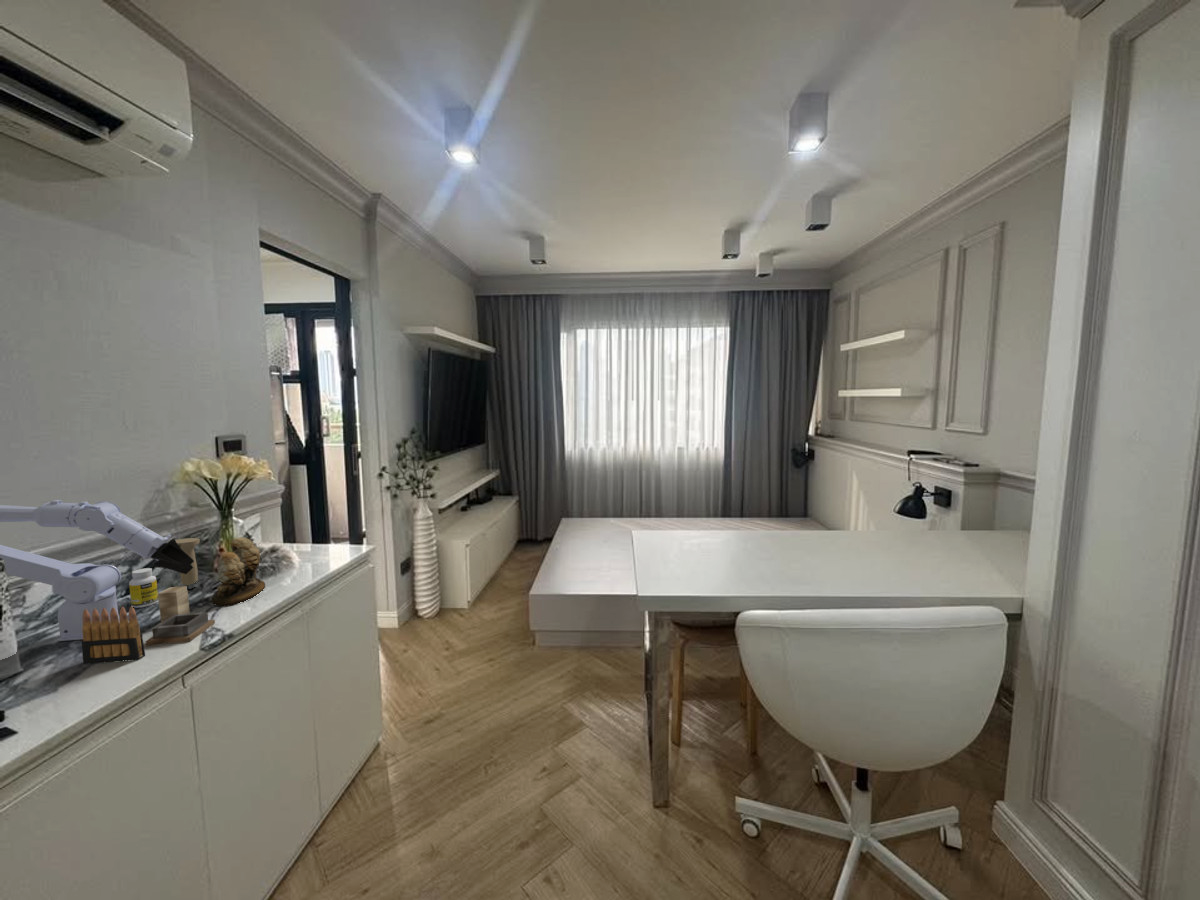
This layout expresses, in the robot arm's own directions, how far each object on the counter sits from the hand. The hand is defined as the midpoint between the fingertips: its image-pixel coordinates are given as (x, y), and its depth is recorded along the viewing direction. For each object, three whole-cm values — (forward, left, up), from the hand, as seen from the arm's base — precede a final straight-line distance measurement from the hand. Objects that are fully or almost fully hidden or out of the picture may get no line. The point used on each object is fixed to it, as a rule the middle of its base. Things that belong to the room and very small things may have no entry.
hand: (190, 567), depth 117 cm
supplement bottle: (-20, +13, -14) cm, 28 cm away
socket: (+2, -8, -14) cm, 16 cm away
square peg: (-5, +1, -14) cm, 15 cm away
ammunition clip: (-5, -18, -14) cm, 23 cm away
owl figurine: (+2, +16, -14) cm, 22 cm away
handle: (-15, +23, -14) cm, 31 cm away
